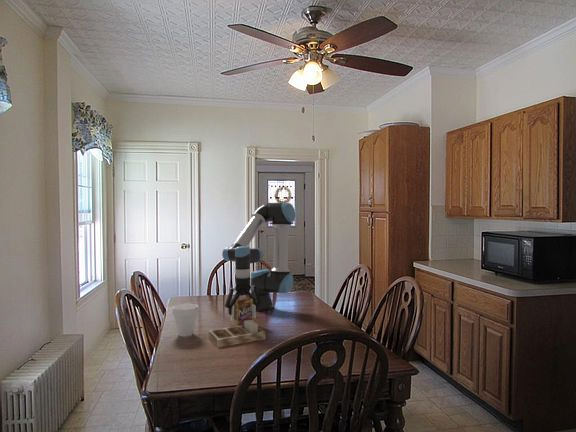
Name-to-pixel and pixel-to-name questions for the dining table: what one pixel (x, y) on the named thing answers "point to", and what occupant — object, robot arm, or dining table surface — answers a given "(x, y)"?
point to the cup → (185, 318)
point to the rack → (234, 336)
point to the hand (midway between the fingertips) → (243, 319)
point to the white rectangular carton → (250, 326)
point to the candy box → (242, 311)
